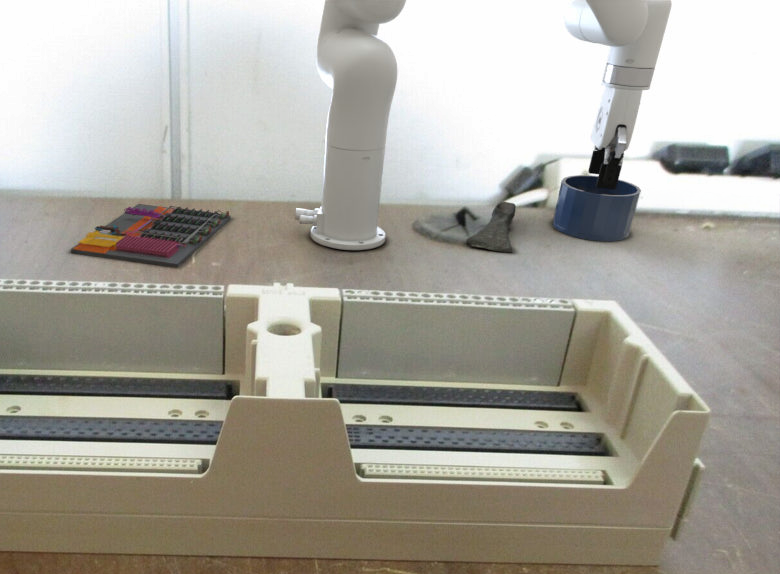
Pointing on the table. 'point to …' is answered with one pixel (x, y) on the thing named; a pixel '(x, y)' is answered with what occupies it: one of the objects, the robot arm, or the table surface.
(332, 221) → the robot arm
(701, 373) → the table surface
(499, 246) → the tool
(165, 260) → the circuit board
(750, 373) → the table surface
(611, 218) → the blue open cylinder
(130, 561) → the table surface
